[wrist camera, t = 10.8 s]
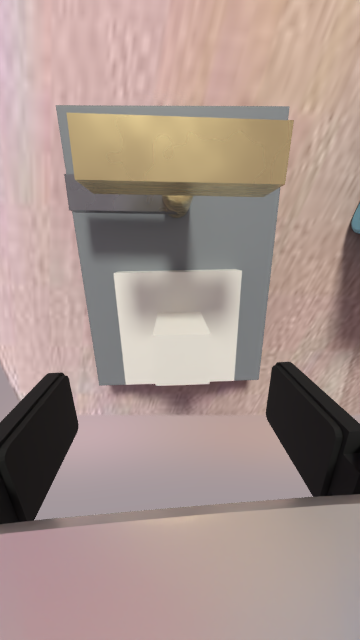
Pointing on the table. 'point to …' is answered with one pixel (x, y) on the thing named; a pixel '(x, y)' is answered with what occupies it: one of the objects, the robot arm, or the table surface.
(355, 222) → the data package
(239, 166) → the tan t-shaped piece
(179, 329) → the lid
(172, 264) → the plate
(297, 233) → the table surface
